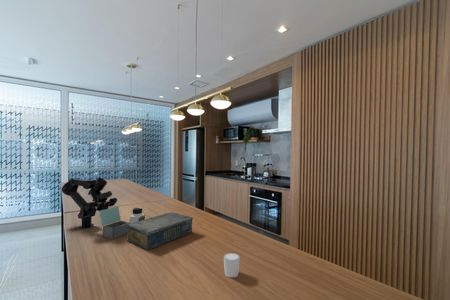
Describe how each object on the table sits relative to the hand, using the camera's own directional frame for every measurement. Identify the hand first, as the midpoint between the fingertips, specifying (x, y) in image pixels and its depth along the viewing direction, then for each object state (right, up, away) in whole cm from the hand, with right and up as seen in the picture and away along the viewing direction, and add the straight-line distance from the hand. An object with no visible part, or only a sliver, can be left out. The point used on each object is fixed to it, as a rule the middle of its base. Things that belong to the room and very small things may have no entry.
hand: (107, 214), depth 135 cm
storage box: (+8, -11, -4) cm, 14 cm away
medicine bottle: (+14, -11, +12) cm, 21 cm away
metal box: (+36, -11, -7) cm, 38 cm away
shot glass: (+76, -11, -46) cm, 90 cm away
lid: (+2, 0, -1) cm, 3 cm away
